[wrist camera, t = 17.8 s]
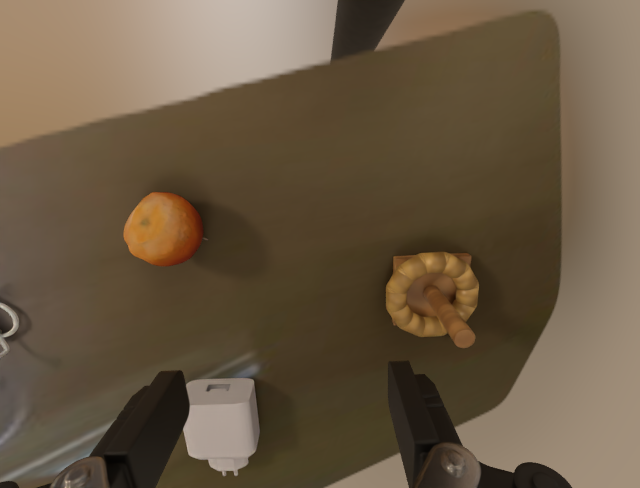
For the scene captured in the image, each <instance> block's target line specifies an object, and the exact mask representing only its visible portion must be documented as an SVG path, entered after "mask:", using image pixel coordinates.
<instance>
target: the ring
mask: <svg viewBox="0 0 640 488" xmlns="http://www.w3.org/2000/svg"><path fill="white" fill-rule="evenodd" d="M427 273H442V274H444V275H446V276H448V277H450V278H452V280H453V282H454V284H455V285H456V299H455V300H454V302H453V303H452V304H451V305H452V306H453V307H454V308H455V310H456V311H457V312H458V313H459V315H460V316H461V317H462V319H463V320H464V321H465V322H466V321H467V320H468V318H469V317H470V315H471V314H472V313H473V311H474V310H475V308H476V307H477V301H478V290H479V283H478V280H477V279H476V277H475V275H474V273H473V272H472V270H471V268H470V266H469V265H468V264H467V263H466V262H465V261H463V260H461V259H459V258H457V257H455V256H453V255H451V254H449V253H447V252H430V253H419V254H417V255H416V256H414V257H412V258H411V259H409V260H407V261H405V262H404V263H402V264H400V265H399V266H398V267H397V269H396V270H395V272H394V274H393V275H392V277H391V279H390V280H389V282H388V283H387V286H386V308H387V311H388V312H389V314H390V315H391V317H392V318H393V320H394V321H395V323H396V324H397V326H398V327H399V328H401V329H403V330H405V331H407V332H410V333H412V334H414V335H416V336H419V337H431V336H443V335H446V334H448V332H447V331H446V329H445V328H444V326H443V324H442V323H441V321H440V320H439V318H438V317H437V316H428V317H422V316H420V315H418V314H415V313H413V312H412V311H411V310H410V308H409V307H408V305H407V291H408V289H409V288H410V286H411V285H412V283H413V281H415V280H416V279H418V278H420V277H422V276H423V275H425V274H427Z"/></svg>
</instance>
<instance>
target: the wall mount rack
mask: <svg viewBox="0 0 640 488" xmlns="http://www.w3.org/2000/svg"><path fill="white" fill-rule="evenodd" d="M0 308H2V309H4V310H5V311H7V312H8V313H9V315H10V316H11V318H12V320H13V328H12V329H11V330H10V331H9V332H7V333H4V334H2V331H1V329H0V344H1V345H2V347H3V349H4V351H3V352H2V353H0V359H1V358H2V357H4V356H5V355H6V354H7V353H8V352H9V351H10V347H9V345H8V344H7V342H6V341H5V340H4V338H5V337H8V336H10V335H12V334H14V333H15V332H16V331H17V330H18V328H19V318H18V316H17V314H16V313H15V312H14V311H13V309H11V308H10V307H9V306H7V305H5V304H3V303H0Z"/></svg>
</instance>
